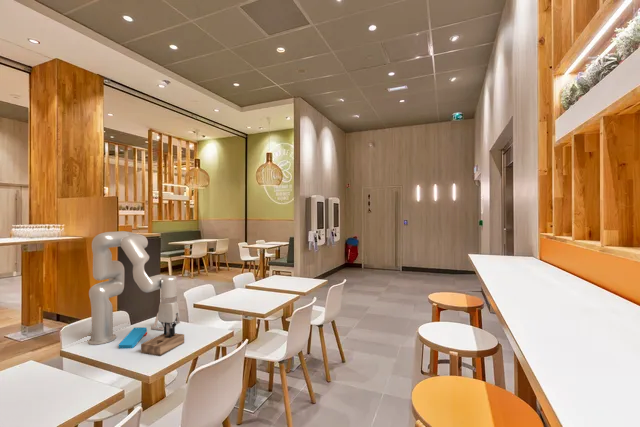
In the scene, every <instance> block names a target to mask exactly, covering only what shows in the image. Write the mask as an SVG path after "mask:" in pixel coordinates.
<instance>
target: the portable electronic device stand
mask: <svg viewBox="0 0 640 427" xmlns="http://www.w3.org/2000/svg"><path fill="white" fill-rule="evenodd" d="M158 322H159V320H158V312H157V313H156V316H155V319H154V323H153V325H151V326H150V330H153V331H154V330H156V331H163V332H164V327H163V326H158V327H157V325H158Z"/></svg>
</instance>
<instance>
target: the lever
mask: <svg viewBox="0 0 640 427" xmlns="http://www.w3.org/2000/svg"><path fill="white" fill-rule="evenodd" d="M147 334H148V329H147V327H146V326H145V327H144V326H143V327H133V328H132V329H131V330H130V331H129V333H128V334H127V335H126V336H125V337H124V338H123V339H122V340H121V341H120V343H119V344H118V345H117V346H118V349H121V350H122V349H133V348H135V346H136V345H137V344H138V343H139V342H140V340H142V338H143V337H146V336H147Z"/></svg>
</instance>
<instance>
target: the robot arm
mask: <svg viewBox="0 0 640 427" xmlns="http://www.w3.org/2000/svg"><path fill="white" fill-rule="evenodd" d="M148 245H149V241H148V239H147V237H146V236H145V235H143V234H140V233H135V232H131V231H124V230H121V231H120V230H119V231H118V230H117V231H106V232H101V233H99V234H96V235H95V236H94V237H93V238H92V241H91V252H92V277H93V279H94V280H96V281H101V282H99V283H96V284H94V285H92V286H91V287H90V288H89V290H88V297H89V300H90V307H91V308H90V309H91V311H90V312H91V331H90V332H89V333H88V335H87V336H89V337H90V338H89V339H88V340H87V344H89V345H93V346H96V345H103V344H107V343H110V342H112V341H114V340H116V339H117V335H116V334H115V333H114V322H113V321H114V319H113V318H114V317H113V316H114V314H113V313H114V312H113V311H114V310H113V308H114V307H113V303H112V302H111V301H110V298H115V297H117V296H119V295H121V294H122V293H123V291H124V288H125V266H124V264H123V262H121V261H119V260H113V255H112V251H111V249H110V248H117V247H120V248H121V249H122V250H123V252H124V254H125V255H126V257H127V258H128V259H129V261H130V262H131V264H132V276H133V280H134V282H135V283H136V284H137V286H138V288H139V289H140V291H141V292H143V293H152V292H154V291H157V290H160V298H159V300H160V302H159V306H158V312H157V313H158V322H160V324H161V325H162V327H164V331H163V333H164V335H166V323H170V328H169V336H172V335H174V334H175V333H176V328H175V327H176V326H177V325H178V324H180V323H181V322H180V321H181V320H180V309H179V308H180V307H179V303H178V280H177V279H178V277H177V276H176V275H166V274H156V275H152V276H149V275H148V274H147V272H146V271H145V264H146V263H147V262H148V261H149V260H150V255H149V254H148V253H147V251H146V250H145V249H146V248H147V247H148ZM105 280H106V281H105Z"/></svg>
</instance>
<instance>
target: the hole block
mask: <svg viewBox="0 0 640 427" xmlns="http://www.w3.org/2000/svg"><path fill="white" fill-rule="evenodd" d="M183 344H185V334H182V333H176V332H175V334H174V335H172V337H171V338H166V335H164V332H163V333H161V334H159V335H157V336H155V337H152V338H151V339H149V340H146V341H145V342H143V343H141V344H140V352H141V354H144V355H151V356H157V357H162V356H164V355H165V354H167V353H169V352H171V351H173V350H174V349H176V348H178V347H180V346H181V345H183Z"/></svg>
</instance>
